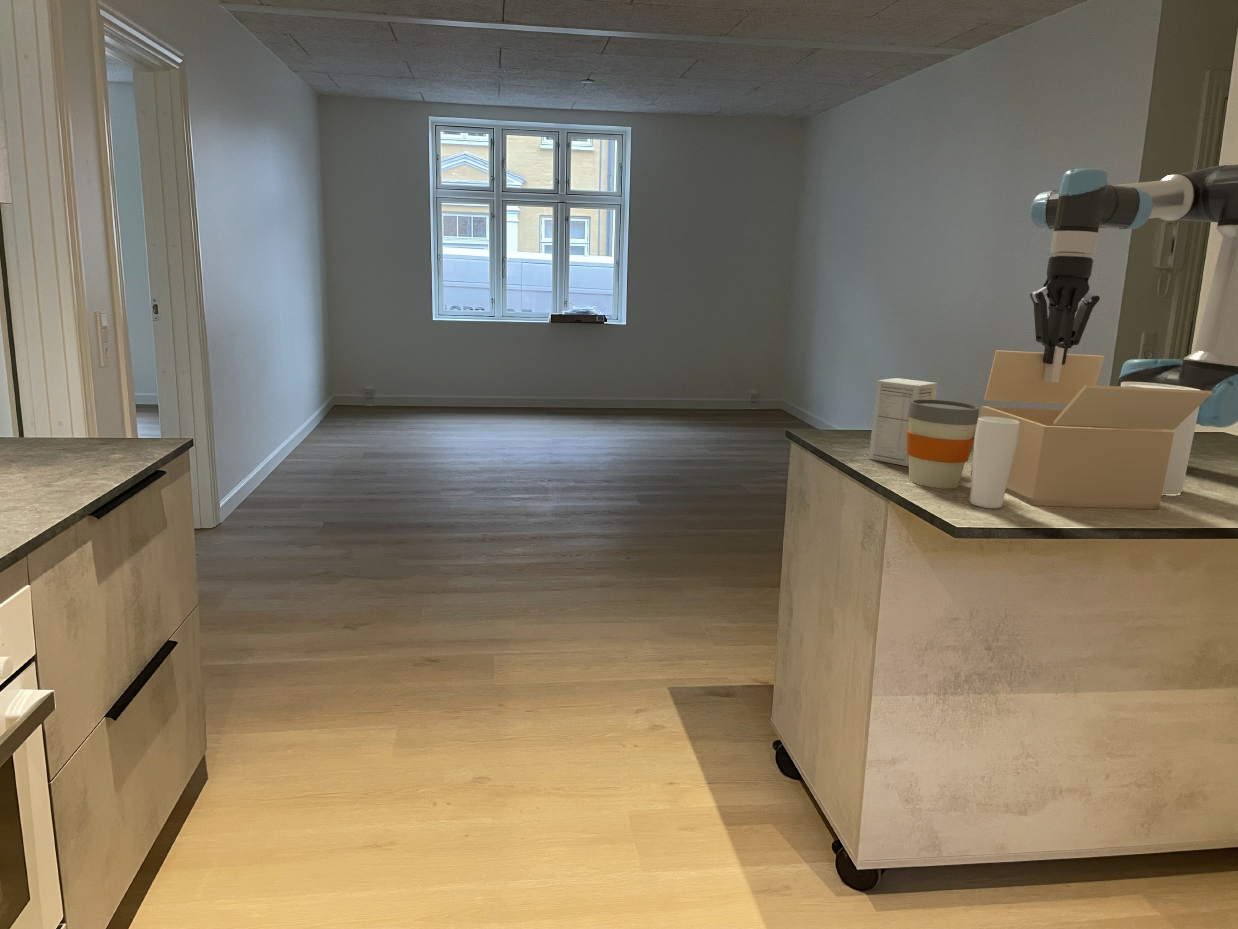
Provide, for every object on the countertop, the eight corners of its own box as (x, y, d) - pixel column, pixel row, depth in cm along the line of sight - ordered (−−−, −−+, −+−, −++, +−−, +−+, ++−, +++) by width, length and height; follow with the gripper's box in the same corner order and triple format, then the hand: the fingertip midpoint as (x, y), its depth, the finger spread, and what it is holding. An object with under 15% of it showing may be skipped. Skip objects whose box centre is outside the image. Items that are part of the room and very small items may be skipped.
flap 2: (1210, 390, 145) (1212, 393, 145) (1172, 426, 153) (1173, 429, 153) (1085, 384, 143) (1086, 387, 142) (1053, 421, 151) (1054, 424, 151)
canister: (1183, 500, 166) (1205, 394, 161) (1102, 487, 172) (1121, 385, 168) (1179, 486, 177) (1199, 387, 173) (1103, 475, 184) (1121, 379, 179)
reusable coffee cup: (884, 476, 170) (894, 399, 167) (930, 472, 176) (940, 398, 173) (936, 493, 160) (948, 410, 156) (983, 488, 166) (995, 409, 162)
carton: (1083, 479, 179) (1095, 411, 176) (1158, 509, 157) (1174, 432, 154) (970, 475, 176) (981, 405, 173) (1031, 505, 155) (1044, 426, 152)
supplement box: (929, 462, 187) (940, 382, 183) (909, 467, 180) (920, 385, 176) (887, 453, 193) (896, 376, 189) (866, 458, 186) (876, 379, 183)
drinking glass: (957, 499, 156) (970, 415, 152) (994, 500, 156) (1007, 417, 153) (976, 510, 149) (989, 422, 146) (1014, 511, 150) (1028, 424, 146)
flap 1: (1090, 405, 176) (1088, 404, 176) (1104, 356, 172) (1102, 355, 173) (985, 400, 173) (983, 399, 174) (997, 351, 170) (995, 350, 170)
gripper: (1091, 258, 170) (1070, 380, 175) (1027, 253, 169) (1008, 377, 173) (1116, 257, 163) (1094, 385, 168) (1050, 253, 161) (1030, 382, 166)
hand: (1050, 381), depth 171 cm, fingers closed
